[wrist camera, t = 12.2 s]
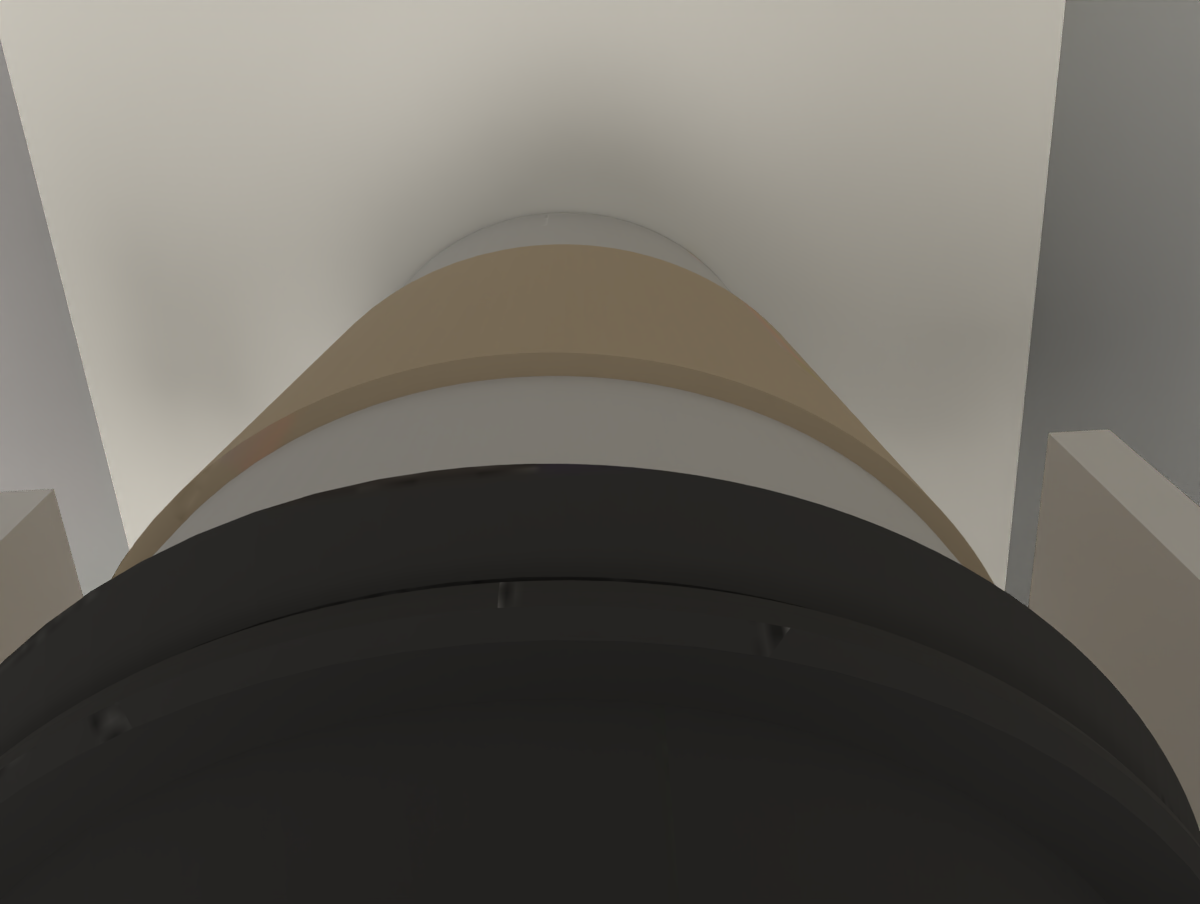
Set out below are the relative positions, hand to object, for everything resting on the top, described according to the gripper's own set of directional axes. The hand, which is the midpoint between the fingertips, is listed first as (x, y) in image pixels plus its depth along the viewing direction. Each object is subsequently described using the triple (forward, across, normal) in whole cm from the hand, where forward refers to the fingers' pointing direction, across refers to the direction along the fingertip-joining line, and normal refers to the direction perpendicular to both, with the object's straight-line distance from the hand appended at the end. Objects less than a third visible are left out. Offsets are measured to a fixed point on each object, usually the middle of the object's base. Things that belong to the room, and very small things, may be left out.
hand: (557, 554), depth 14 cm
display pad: (+6, 0, 0) cm, 6 cm away
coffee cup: (+5, 0, 0) cm, 5 cm away
